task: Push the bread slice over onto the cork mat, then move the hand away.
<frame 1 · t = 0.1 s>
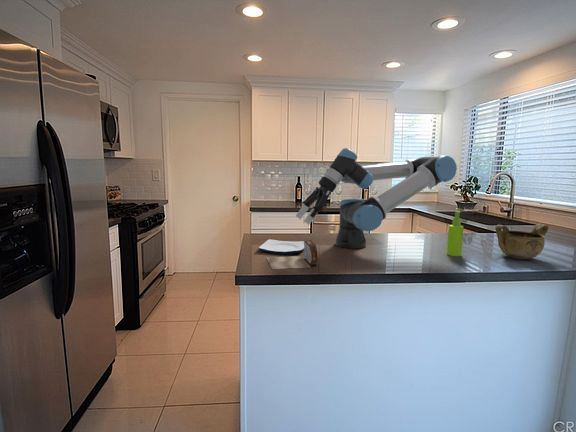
hand: (301, 220, 145), 15 cm above the worktop, tool tilted 35°, fingers open, 13 cm apart
plate: (282, 250, 157), on the worktop
bread slice: (310, 262, 137), on the worktop
ceramic bowl: (518, 258, 147), on the worktop
cork mat: (287, 262, 135), on the worktop
green bottle: (453, 254, 152), on the worktop
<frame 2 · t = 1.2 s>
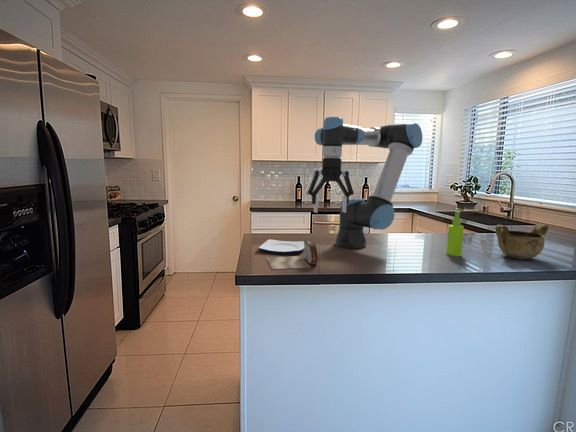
hand: (329, 212, 135), 20 cm above the worktop, tool pointing down, fingers open, 11 cm apart
nothing on the worktop moved.
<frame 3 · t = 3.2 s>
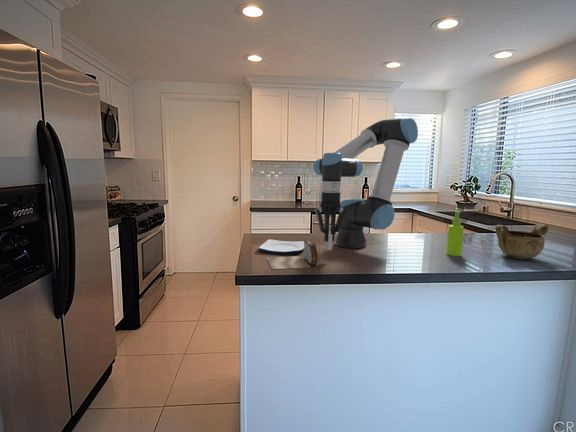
hand: (329, 249, 138), 5 cm above the worktop, tool pointing down, fingers closed
nothing on the worktop moved.
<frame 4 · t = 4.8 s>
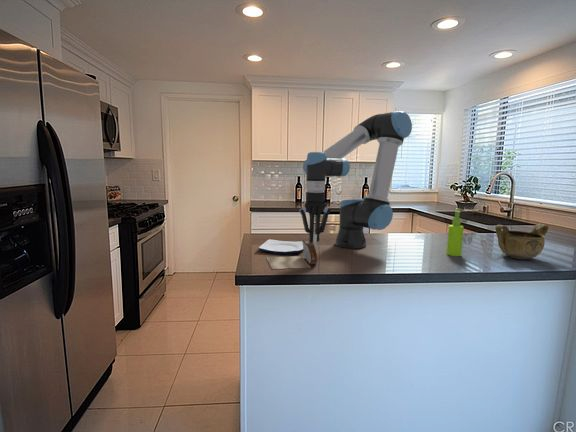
hand: (313, 249, 136), 5 cm above the worktop, tool pointing down, fingers closed
bread slice: (310, 262, 137), on the worktop, touching gripper
everything else where it was.
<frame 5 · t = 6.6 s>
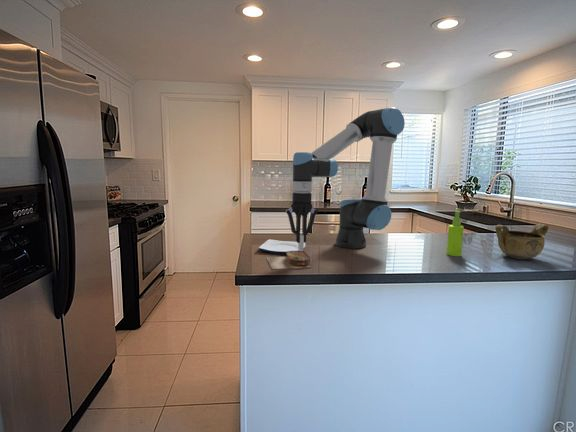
hand: (300, 250, 135), 5 cm above the worktop, tool pointing down, fingers closed
bread slice: (308, 258, 136), point 1 cm above the worktop, touching cork mat
everything else where it was.
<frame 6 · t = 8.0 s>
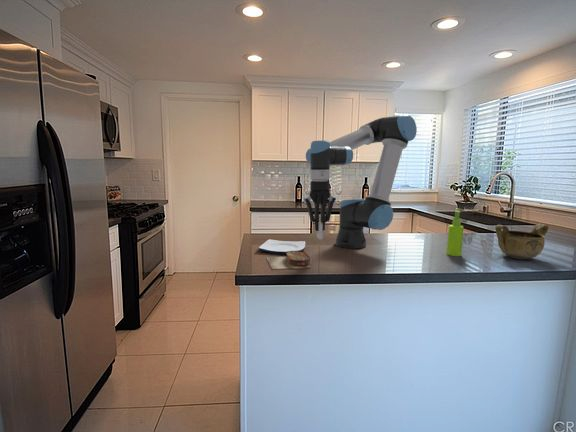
hand: (319, 238, 136), 10 cm above the worktop, tool pointing down, fingers closed
nothing on the worktop moved.
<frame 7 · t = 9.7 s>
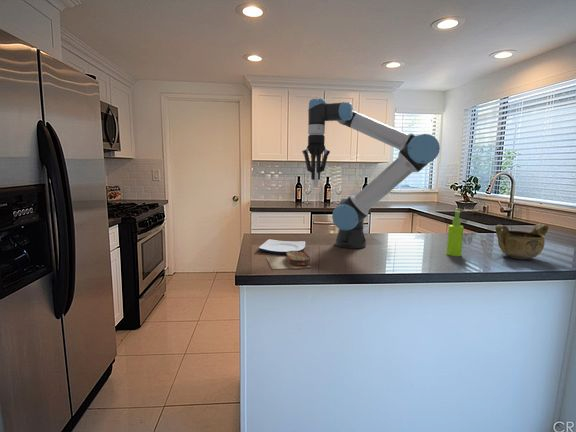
hand: (315, 186, 155), 29 cm above the worktop, tool pointing down, fingers closed
nothing on the worktop moved.
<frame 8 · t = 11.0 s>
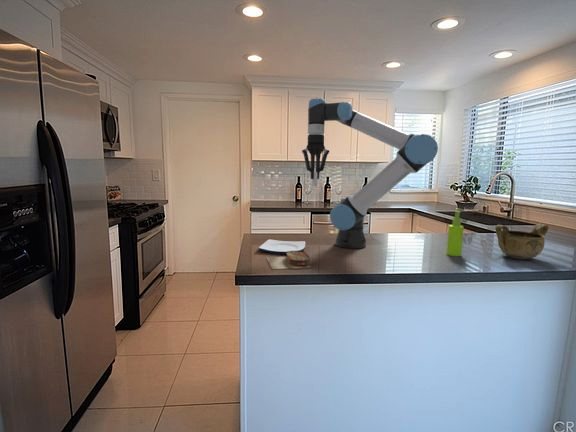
hand: (314, 186, 156), 29 cm above the worktop, tool pointing down, fingers closed
nothing on the worktop moved.
at the end: bread slice tilted 86°; bread slice inside the target area (6.2 cm from its centre), point 1.3 cm above the worktop; the gripper is holding nothing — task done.
